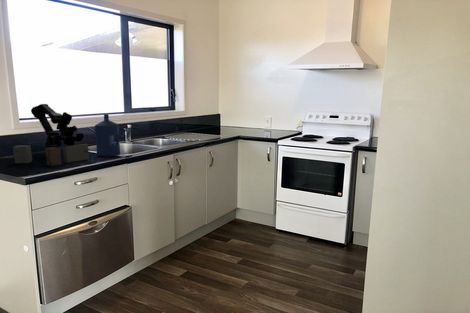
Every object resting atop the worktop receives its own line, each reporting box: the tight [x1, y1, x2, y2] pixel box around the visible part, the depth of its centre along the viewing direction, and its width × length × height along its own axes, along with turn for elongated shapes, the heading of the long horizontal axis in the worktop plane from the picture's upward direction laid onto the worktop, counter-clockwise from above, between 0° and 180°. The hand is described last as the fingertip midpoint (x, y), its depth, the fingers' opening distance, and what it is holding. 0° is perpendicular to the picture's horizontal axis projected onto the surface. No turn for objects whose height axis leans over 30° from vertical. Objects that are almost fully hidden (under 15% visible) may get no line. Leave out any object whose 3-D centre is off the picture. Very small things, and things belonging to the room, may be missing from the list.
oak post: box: [45, 147, 62, 167], centre depth 220 cm, size 7×6×10 cm
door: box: [62, 143, 90, 164], centre depth 228 cm, size 16×3×10 cm, turn 140°
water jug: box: [94, 113, 121, 157], centre depth 251 cm, size 16×16×28 cm
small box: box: [12, 144, 33, 164], centre depth 226 cm, size 8×6×10 cm
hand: (73, 148), depth 232 cm, fingers closed
